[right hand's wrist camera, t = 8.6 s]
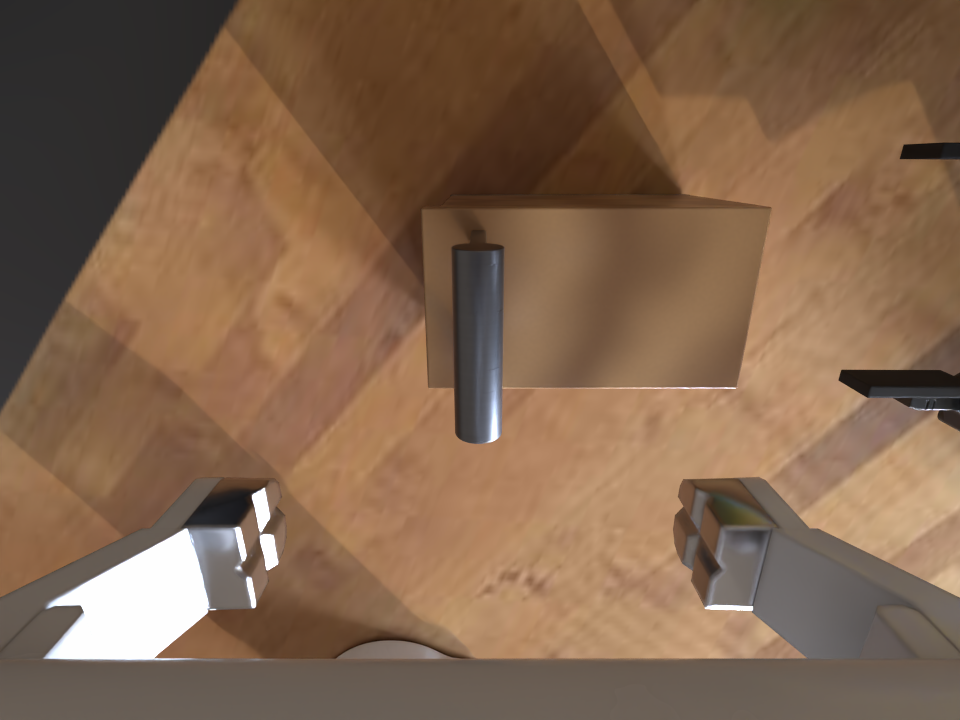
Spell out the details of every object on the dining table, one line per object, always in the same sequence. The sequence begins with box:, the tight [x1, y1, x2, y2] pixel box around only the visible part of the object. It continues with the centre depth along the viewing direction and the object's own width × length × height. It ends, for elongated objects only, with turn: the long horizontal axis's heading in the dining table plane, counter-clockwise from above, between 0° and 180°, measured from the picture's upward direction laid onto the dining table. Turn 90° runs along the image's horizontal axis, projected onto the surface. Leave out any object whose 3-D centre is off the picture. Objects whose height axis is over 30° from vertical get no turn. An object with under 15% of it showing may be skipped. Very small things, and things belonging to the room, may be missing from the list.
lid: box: [421, 205, 772, 444], centre depth 23 cm, size 16×9×8 cm, turn 90°
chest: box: [442, 194, 753, 206], centre depth 31 cm, size 16×9×10 cm, turn 90°
